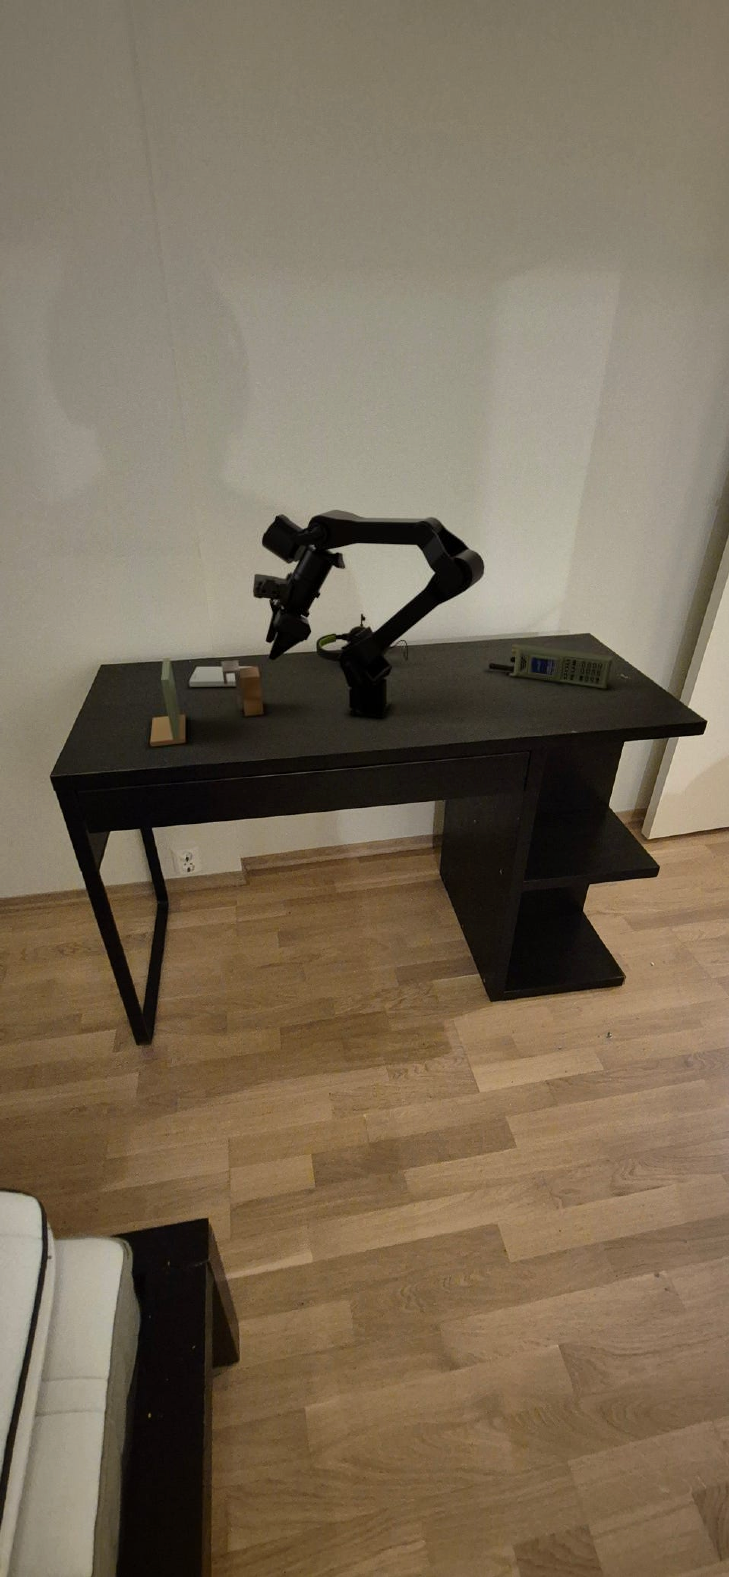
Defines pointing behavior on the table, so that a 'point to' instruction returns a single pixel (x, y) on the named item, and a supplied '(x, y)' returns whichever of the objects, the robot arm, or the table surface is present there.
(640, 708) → the table surface
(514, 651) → the handheld radio
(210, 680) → the hard drive
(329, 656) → the headphones
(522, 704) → the table surface
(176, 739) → the door panel
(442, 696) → the table surface
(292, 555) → the robot arm
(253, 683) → the lidded tan box
